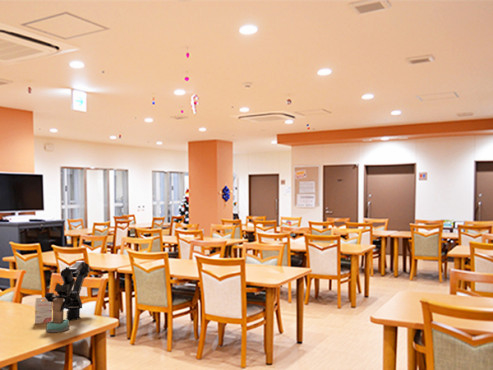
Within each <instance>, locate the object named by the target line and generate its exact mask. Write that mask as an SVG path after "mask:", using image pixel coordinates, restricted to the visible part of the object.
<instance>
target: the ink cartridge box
mask: <svg viewBox="0 0 493 370" xmlns="http://www.w3.org/2000/svg"><path fill="white" fill-rule="evenodd" d="M51 321H53V302H48V301H47V299H46V298H45V297H36V298H35V304H34V323H35V324H45V323H46V324H47V323H48V322H51Z"/></svg>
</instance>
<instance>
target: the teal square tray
mask: <svg viewBox="0 0 493 370" xmlns="http://www.w3.org/2000/svg"><path fill="white" fill-rule="evenodd" d="M69 321H70V320H68V319H63V322H61V323H53V320H52V321H51V322H49V323H46V328H45V332H46V333H48V334H57V333H58V332H60V333H64V332H67V331H69V330H70V325H69ZM68 329H69V330H68Z"/></svg>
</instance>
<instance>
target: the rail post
mask: <svg viewBox="0 0 493 370" xmlns="http://www.w3.org/2000/svg"><path fill="white" fill-rule="evenodd" d="M63 302H64V298H55V299H53V302H52V321H53V323H61V322H63V320H64V313H65V311H64V310H65V309H64V310H63V311H62V312H61V311H60V310H61V307H62V305H63Z"/></svg>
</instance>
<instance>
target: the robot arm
mask: <svg viewBox="0 0 493 370" xmlns="http://www.w3.org/2000/svg"><path fill="white" fill-rule="evenodd" d="M90 271H91V268H90V264H88V263H87V262H85V260H76V261H75V263H74V264H73V265H72V266H68V267H67V266H65V267H64V268H63V269H62V270H61V271H60V276H61V279H62V281H63V283H62V284H55V287H54V292H56V294H55V293H54V292H46V293H45V295H44V298H46V299H47V301H48V302H52V303H53V299H55V298H64V302H63V305H62V307H61V310H60V311H61V312H62V311H63V310H66V320H68V319H69V321H73V320H72V319H75V320H78V319H77V318H80V319H81V316H80V314H81V313H80V311H81V309H83V302H82V299H81V296H80V294H81V290H82V288H83V284H84V280H85V278H87V277H88V276H89V273H90Z"/></svg>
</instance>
